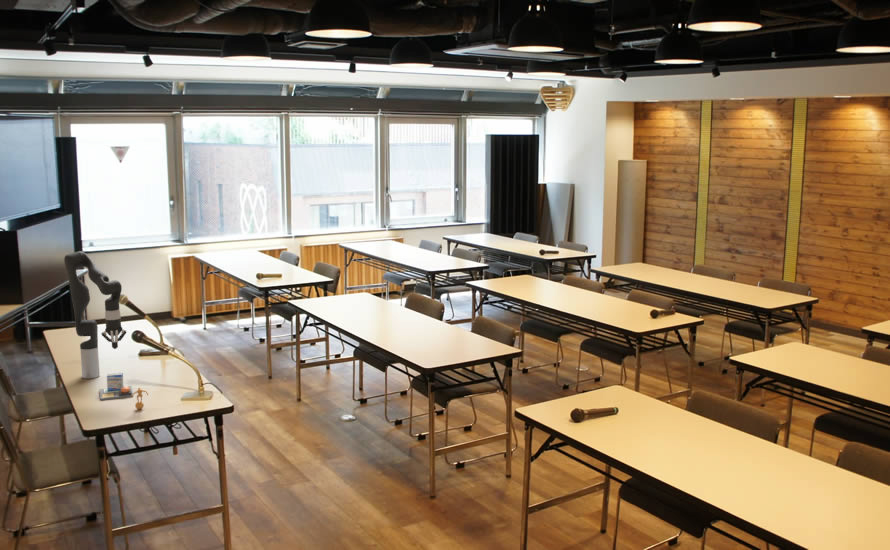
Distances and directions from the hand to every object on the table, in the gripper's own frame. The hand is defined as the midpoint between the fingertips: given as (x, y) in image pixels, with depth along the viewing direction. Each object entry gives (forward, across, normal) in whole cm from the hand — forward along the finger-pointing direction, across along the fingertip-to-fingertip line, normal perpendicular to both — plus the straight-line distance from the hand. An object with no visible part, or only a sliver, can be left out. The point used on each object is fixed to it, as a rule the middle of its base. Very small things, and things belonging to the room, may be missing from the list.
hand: (115, 348), depth 421 cm
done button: (+21, +3, -11) cm, 24 cm away
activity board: (+24, -1, -6) cm, 24 cm away
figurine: (+23, +8, -38) cm, 45 cm away
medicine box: (+23, -1, -2) cm, 23 cm away
